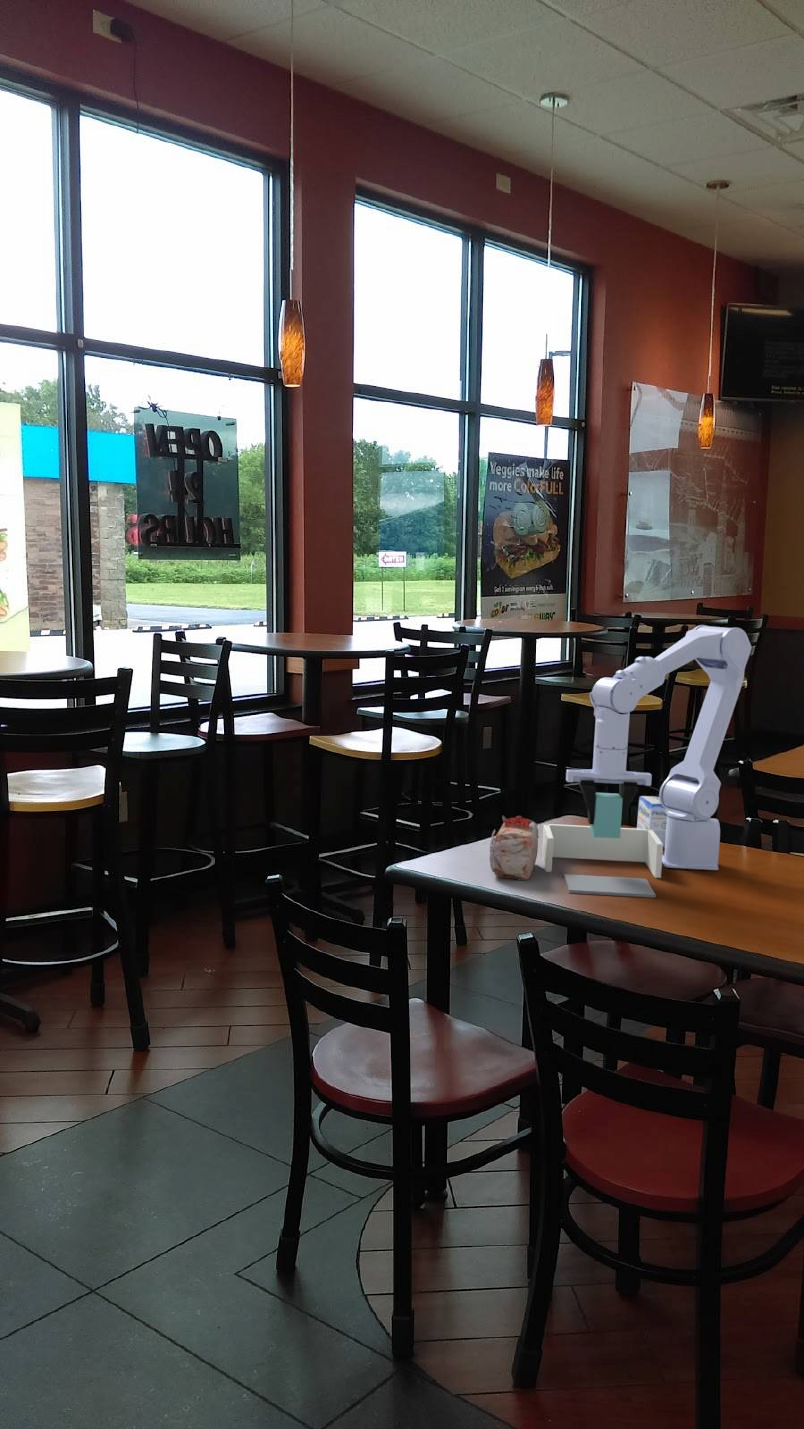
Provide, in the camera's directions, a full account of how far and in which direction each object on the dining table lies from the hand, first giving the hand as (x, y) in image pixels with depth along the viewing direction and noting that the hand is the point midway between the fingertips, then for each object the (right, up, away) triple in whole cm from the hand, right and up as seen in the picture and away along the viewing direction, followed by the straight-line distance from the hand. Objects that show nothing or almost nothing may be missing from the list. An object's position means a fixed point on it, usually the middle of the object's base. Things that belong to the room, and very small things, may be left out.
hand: (605, 824), depth 198 cm
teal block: (0, -2, 0) cm, 2 cm away
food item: (-16, -9, 0) cm, 18 cm away
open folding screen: (0, -8, +6) cm, 10 cm away
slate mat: (-1, -10, -7) cm, 12 cm away
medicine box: (+14, -7, +27) cm, 32 cm away
